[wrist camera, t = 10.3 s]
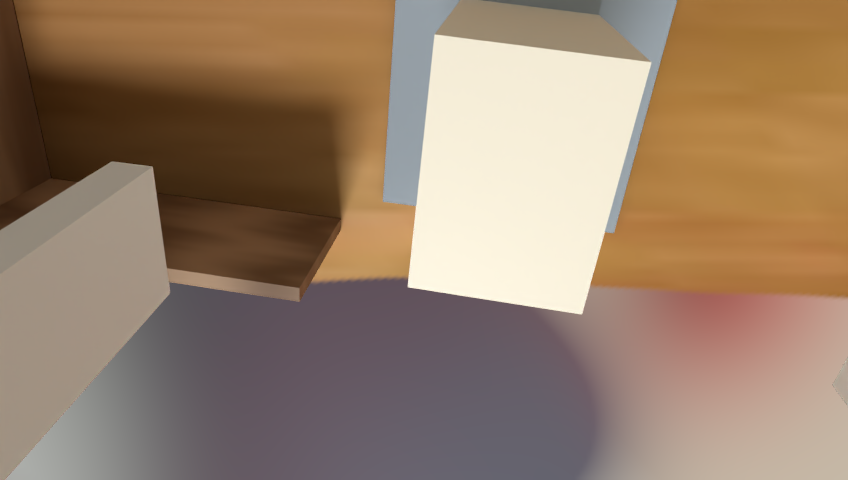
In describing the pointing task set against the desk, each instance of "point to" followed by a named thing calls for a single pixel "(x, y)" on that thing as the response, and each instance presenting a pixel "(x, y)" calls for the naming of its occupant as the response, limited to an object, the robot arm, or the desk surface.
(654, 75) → the felt pad
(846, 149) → the desk surface
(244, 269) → the crate
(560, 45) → the cream block
